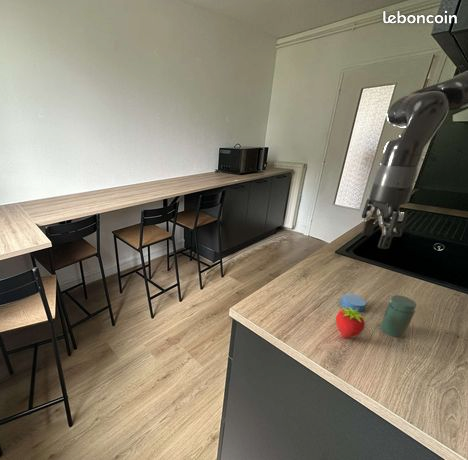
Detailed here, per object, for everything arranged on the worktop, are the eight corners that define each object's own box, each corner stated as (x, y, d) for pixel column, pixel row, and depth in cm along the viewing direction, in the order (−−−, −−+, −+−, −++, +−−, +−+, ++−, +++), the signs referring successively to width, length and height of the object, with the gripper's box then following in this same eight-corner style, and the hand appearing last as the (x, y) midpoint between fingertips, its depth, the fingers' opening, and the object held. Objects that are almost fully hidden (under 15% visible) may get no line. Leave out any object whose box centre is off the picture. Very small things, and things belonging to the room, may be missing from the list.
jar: (392, 323, 70) (404, 294, 66) (409, 337, 66) (423, 306, 62) (374, 324, 70) (385, 295, 66) (390, 338, 65) (403, 307, 62)
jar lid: (363, 302, 79) (365, 296, 78) (365, 314, 74) (367, 308, 73) (340, 297, 81) (341, 291, 80) (341, 308, 77) (343, 302, 76)
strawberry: (357, 331, 68) (367, 301, 64) (359, 351, 62) (371, 320, 58) (331, 324, 71) (339, 294, 67) (331, 342, 65) (340, 311, 61)
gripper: (362, 177, 70) (347, 230, 76) (392, 189, 57) (371, 252, 63) (393, 177, 68) (376, 232, 74) (432, 189, 55) (407, 254, 62)
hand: (374, 241), depth 69 cm, fingers open, 8 cm apart
